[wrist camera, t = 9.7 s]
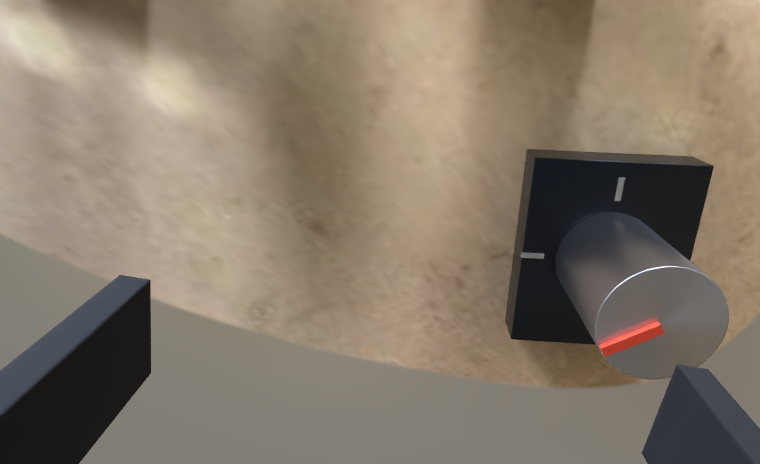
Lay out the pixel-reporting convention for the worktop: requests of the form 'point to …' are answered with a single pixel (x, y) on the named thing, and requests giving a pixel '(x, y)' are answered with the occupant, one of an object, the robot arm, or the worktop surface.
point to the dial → (640, 296)
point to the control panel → (582, 200)
